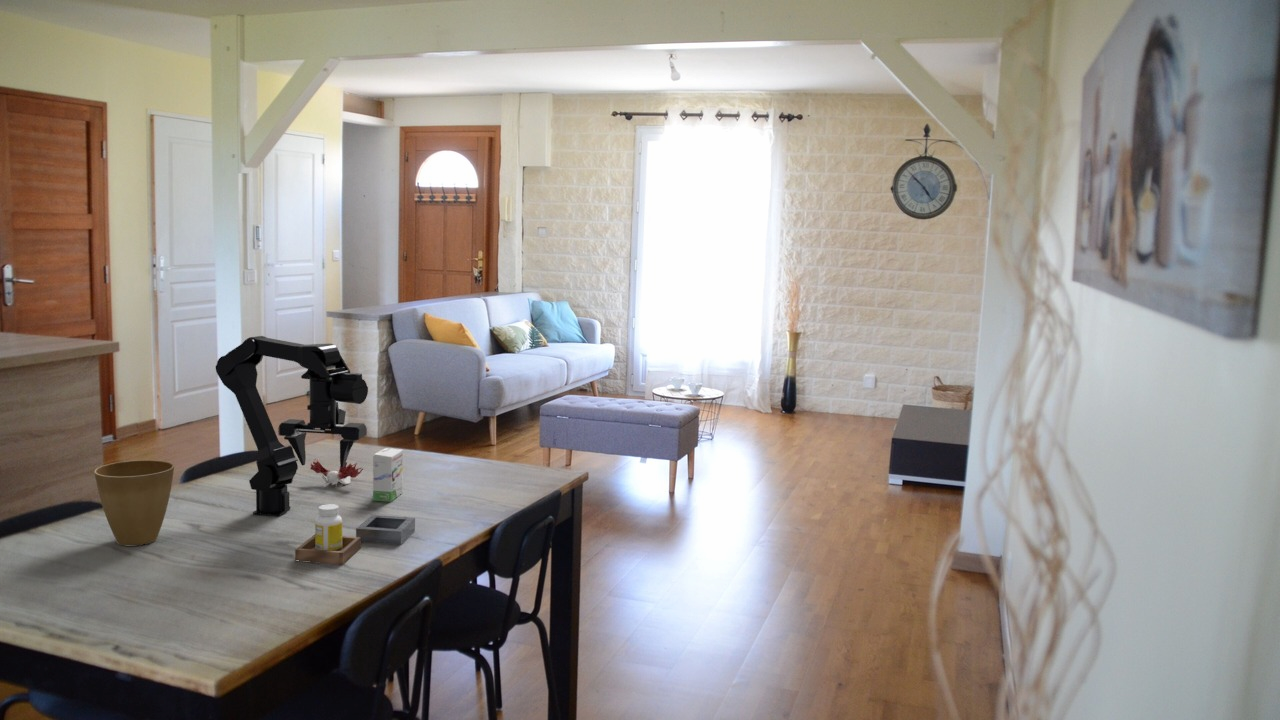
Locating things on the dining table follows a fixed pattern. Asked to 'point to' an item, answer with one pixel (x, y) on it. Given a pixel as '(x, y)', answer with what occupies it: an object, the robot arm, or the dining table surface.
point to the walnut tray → (325, 556)
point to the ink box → (387, 474)
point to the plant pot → (135, 498)
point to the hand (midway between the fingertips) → (322, 466)
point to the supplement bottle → (328, 528)
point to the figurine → (336, 473)
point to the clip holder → (386, 529)
